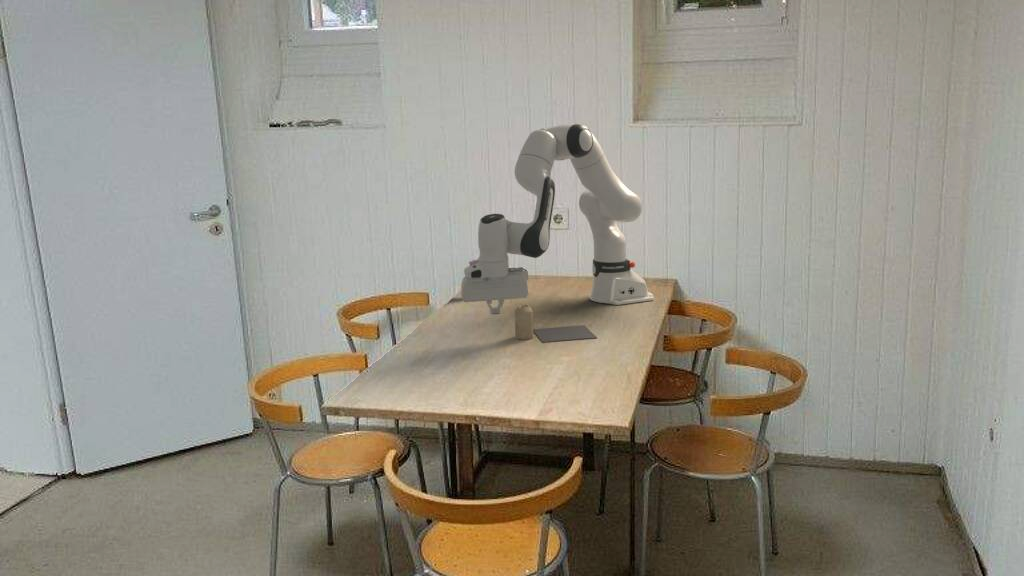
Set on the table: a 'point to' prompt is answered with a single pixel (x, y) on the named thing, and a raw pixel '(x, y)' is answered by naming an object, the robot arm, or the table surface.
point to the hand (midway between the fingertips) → (495, 313)
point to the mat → (564, 333)
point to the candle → (524, 322)
